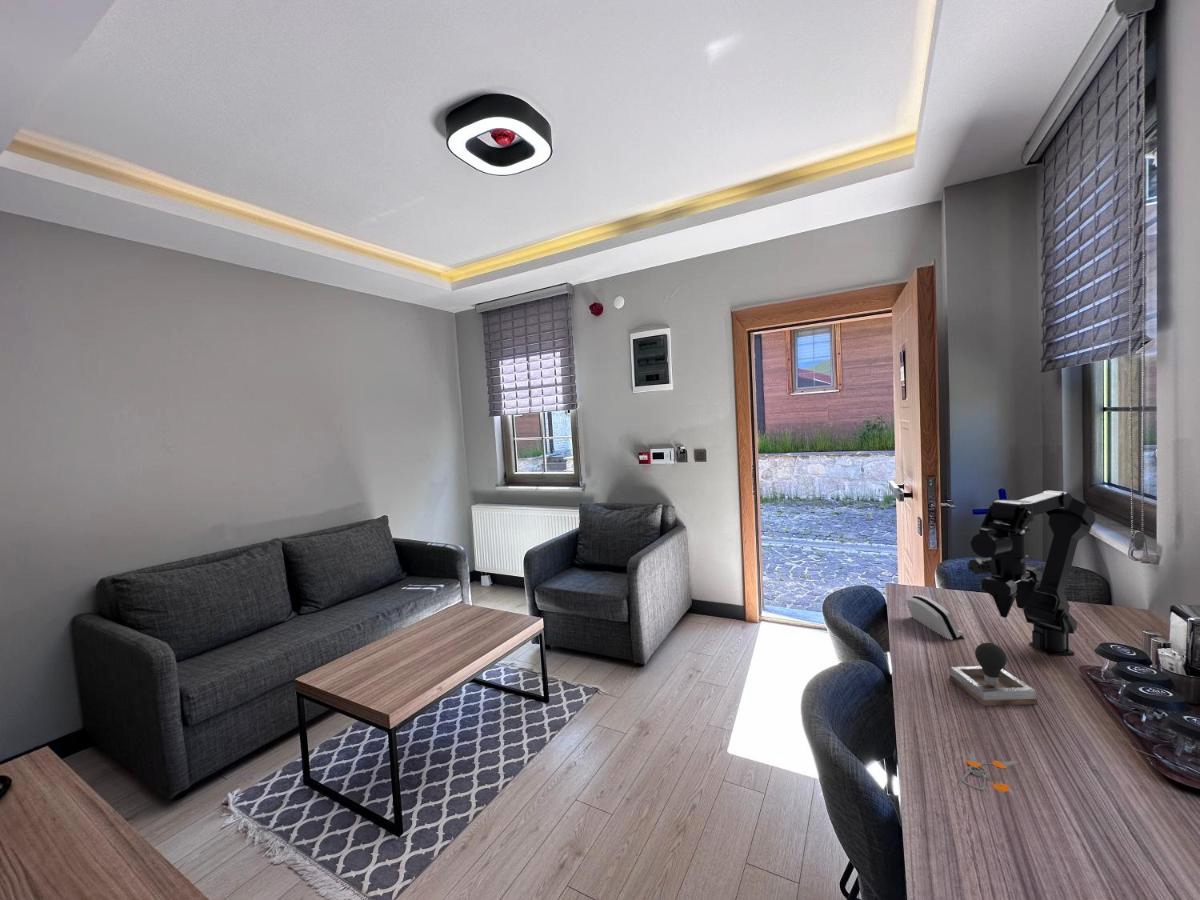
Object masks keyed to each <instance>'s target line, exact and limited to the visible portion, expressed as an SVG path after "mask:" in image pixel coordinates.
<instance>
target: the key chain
mask: <svg viewBox="0 0 1200 900" xmlns="http://www.w3.org/2000/svg"><path fill="white" fill-rule="evenodd" d="M967 757H968V759H967V760H966V761H965V762H966V764H967V765H968V771H967V772H966V773H965V774H964V775H963V776H962V778H961V780H960V781H961V782H962V783H963V784H965V785H966V784H967V786H968V787H971V788H974V789H977V790H980V791H985V790H986V780H987V779H988V781H991V779H990V778H989V777H988V776H987V775H986V773H987V769H986V768H985V767H982V766H985V765H991V766H994V767H996V768H998V767H999V768H998V769H1003V768H1004V769H1003V770H1005V768H1006V769H1007V768H1008V767H1010V766H1011V767H1012V766H1015V765H1019V762H1018V761H1016V760H1009V761H1003V762H1002V761H999V760H993V761H992V763H991V762H983V763H980V762H978V761H976V756H975V753H973V752H969V755H968V756H967ZM981 768H982V769H981ZM970 774H973V775H974V776H976V777H979V778H980V777H981V780H983V785H982V787H978V786H975V785H972V784H970V783H968V782H966V781H965V780H966V778H967V777H968V776H969V775H970ZM1000 782H1001V783H1000V784H998V785H997V783H996V784H994V785H993V787H992V788H993V789H995V790H997V791H999V792H1002V793H1003V792H1009V791H1010V787H1009V786H1008V784H1006V783H1005V784H1002V782H1003V781H1000ZM993 783H994V782H993ZM993 783H992V784H993ZM992 784H991V785H992ZM991 785H990V786H991ZM999 785H1001V786H999Z"/></svg>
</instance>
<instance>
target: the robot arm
mask: <svg viewBox="0 0 1200 900" xmlns="http://www.w3.org/2000/svg"><path fill="white" fill-rule="evenodd" d="M1041 514H1044V515H1045V516H1046V517H1047V518H1048V522H1047V524H1048V527H1049V528H1050V531H1051V533H1052V539H1051V541H1050V545H1049V549H1048V552H1047V556H1046V560H1045V564H1044V568H1043V571H1041V570H1040V569H1039V568H1038V567H1034V566H1028V565H1027V561H1029V560H1030V559H1031V558H1030V555H1029V554H1027V544H1026V540H1027V539H1026V533H1030V532H1031V529H1030V528H1029V527H1028V525H1029V524H1030V523H1032V522H1033V521H1034V517H1035V516H1038V515H1041ZM1095 523H1096V514H1095V513H1094V511H1093V510H1092V509H1091V507H1089V505H1087V504H1086V503H1084V502H1082V501H1080V500H1079V499H1076V498H1075V497H1073V496H1072V495H1071V494H1070V493H1069V492H1066V491H1061V490H1044V491H1042V492H1041V493H1038V494H1034V495H1031V496H1027V497H1024V498H1020V499H1017V500H1016V499H997V500H996V499H995V500H994V501H993V502H992V503H991V504H990V506H989V508H988V510H987V512H986V514H985V516H984V519H983V521H982V523H981V524H980V525H981V526H980V527H981V528H979V529H978V532H979V533H978V534H975V535H974V536H973V537H972V538H971V541H970V547H971V550H972V551H973V552H974V553H975V554H976V555H978V556H979V557H982V558H979V557H976V558H971V559H969V561H968V563H967V570H969V571H970V572H971V573H972V574H973V575H977V576H978V575H979V574H984V573H985V574H986V573H987V574H988V573H990V575H988V576H986V577H984V578H982V579H981V580H979V589H981V590H983V591H984V592H986V593H988V594H989V595H990V596H992V599H993V600H994V602H995V605H996V608H997V610H998V612H999V616H1000V617H1001V618H1004V619H1005V618H1007V617H1008V616H1009V613H1010V611H1011V610H1012V609H1011V608H1012V607H1013V604H1014V602H1015V603H1016V606H1017V608H1018V609H1022V611H1023V613H1024V617H1025V620H1026V621H1025V622H1026V623H1027V624H1031V625H1032V624H1033V625H1032V626H1033V630H1032V631H1031V636H1032V637H1031V641H1029V642H1028V644H1029V645H1030V646H1031V647H1033V648H1035V649H1037V650H1038V651H1040V652H1042V653H1045V654H1046V655H1047V656H1063V655H1075V652H1074V650H1071V649H1070V645H1069V643H1070V642H1069V641H1070V640H1069V637H1070V635H1069V634H1073V635H1074V634H1075V631H1076V630H1077V628H1078V627H1077V626H1078V622H1077V620H1076V619H1075V618H1074V617H1073V616H1072V614H1071V613H1070V603H1069V602H1068V599H1067V597H1066V595H1065V592H1066V591H1065V590H1066V588H1067V584H1068V579H1069V578H1070V577H1069V576H1070V573H1071V569H1072V564H1073V562H1074V557H1075V553H1076V550H1077V547H1078V542H1079V541H1080V540H1082V539H1083V538H1084V537H1086V536H1087V535H1088V534H1090V532H1091V529H1092V527H1093V525H1094V524H1095Z"/></svg>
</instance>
